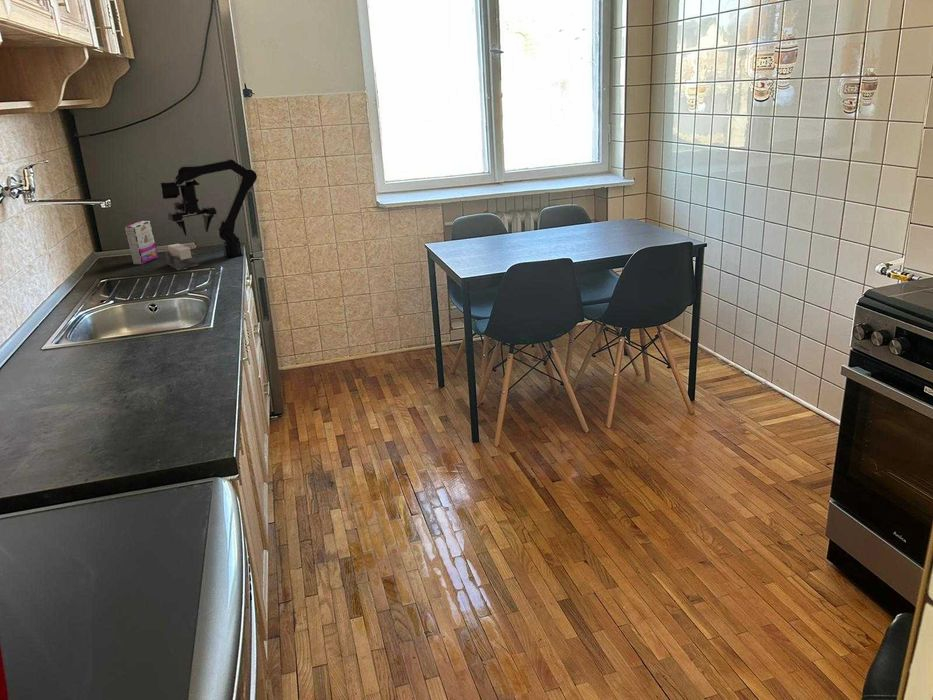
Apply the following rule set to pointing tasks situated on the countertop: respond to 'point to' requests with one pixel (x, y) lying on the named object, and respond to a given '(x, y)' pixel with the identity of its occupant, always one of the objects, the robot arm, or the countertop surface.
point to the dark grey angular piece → (181, 261)
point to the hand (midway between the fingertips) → (196, 233)
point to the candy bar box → (141, 242)
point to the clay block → (179, 251)
